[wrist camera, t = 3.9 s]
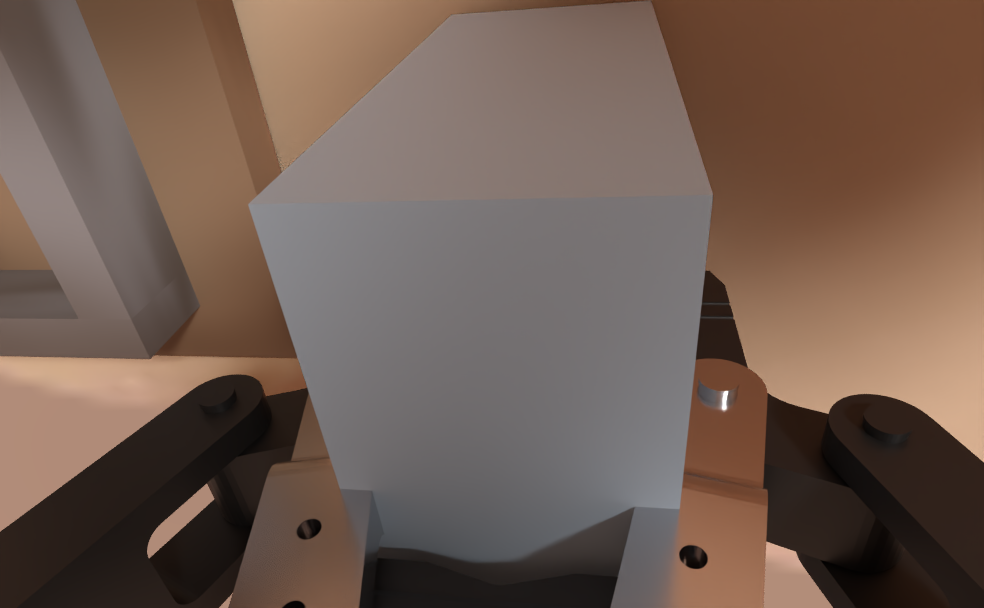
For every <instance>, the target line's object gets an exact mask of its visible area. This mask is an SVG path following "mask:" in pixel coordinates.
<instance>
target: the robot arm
mask: <svg viewBox="0 0 984 608" xmlns="http://www.w3.org/2000/svg"><path fill="white" fill-rule="evenodd" d="M206 483H207V484H208V486H209V488H210V490H211V492H212V494H213V496H214V498H215V499H214V500H213V501H212V502H211V503H210V504H209V505H208V506H207V507H206V508H204V509H203V510H202V511H201V512H200V513H199V514H198V515H197V516H196V517H195V518H194V519H192V520H191V521H190V522H189V523H188V524H187V525H186V526H185V527H184V528H182V529H181V530H180V531H179V532H178V533H177V534H176V535H175V536H174V537H173V538H172V539H170V541H168V542H167V543H166V544H165V545H164V546H163V547H162V548H160V549H159V550H158V551H157V552H156V553H155V554H154V555H153V556H152V557H151V558H148V555H147V546H148V542H149V540H150V537H151V535H152V534H153V532H154V531H155V529H156V528H157V527H158V526H159V525H160V524H161V523H162V522H163V521H164V520H165V519H167V518H168V517H169V516H170V515H171V514H172V513H173V512H175V511H176V510H177V509H178V508H179V507H180V506H181V505H182V504H184V503H185V502H186V501H187V500H188V499H189V498H191V497H192V496H193V495H194V494H195V493H196V492H197V491H198V490H199V489H201V488H202V487H203V486H204V485H205V484H206ZM382 535H384V531H383V527H382V524H381V520H380V517H379V513H378V510H377V506H376V503H375V499H374V496H373V492H372V491H369V490H353V489H340V487H339V484H338V481H337V478H336V475H335V472H334V469H333V466H332V463H331V460H330V456H329V453H328V450H327V447H326V444H325V441H324V438H323V435H322V432H321V429H320V426H319V422H318V419H317V416H316V413H315V410H314V407H313V404H312V401H311V398H310V395H309V392H308V388H305V389H301V390H297V391H291V392H286V393H281V394H276V395H271V396H265V393H264V390H263V388H262V385H261V384H260V382H259V381H258V380H257V379H255V378H253V377H251V376H247V375H227V376H222V377H218V378H215V379H212V380H210V381H207V382H205V383H203V384H201V385H199V386H198V387H196V388H195V389H193V390H192V391H190V392H189V393H187V394H186V395H185V396H183V397H182V398H181V399H179V400H178V401H177V402H175V403H174V404H173V405H171V406H170V407H169V408H167V409H166V410H164V411H163V412H162V413H160V414H159V415H158V416H156V417H155V418H154V419H152V420H151V421H150V422H148V423H147V424H146V425H144V426H143V427H141V428H140V429H139V430H137V431H136V432H135V433H133V434H132V435H131V436H129V437H128V438H127V439H125V440H124V441H123V442H121V443H120V444H118V445H117V446H116V447H114V448H113V449H112V450H110V451H109V452H108V453H106V454H105V455H104V456H102V457H101V458H100V459H98V460H97V461H95V462H94V463H93V464H92V465H90V466H89V467H87V468H86V469H85V470H83V471H82V472H81V473H79V474H78V475H77V476H75V477H74V478H72V479H71V480H70V481H68V482H67V483H66V484H64V485H63V486H62V487H60V488H59V489H58V490H56V491H55V492H54V493H52V494H51V495H49V496H48V497H47V498H45V499H44V500H43V501H41V502H40V503H39V504H37V505H36V506H35V507H33V508H32V509H31V510H29V511H28V512H26V513H25V514H24V515H22V516H21V517H20V518H19V519H17V520H16V521H14V522H13V523H12V524H10V525H9V526H8V527H6V528H5V529H3V530H2V531H1V532H0V608H219V607H220V606H221V605H222V604H223V603H224V602H225V601H226V599H227V598H228V597H229V596H230V595H231V594H232V593H233V594H232V598H231V601H230V604H229V608H763V607H764V583H765V559H766V541H767V542H770V543H772V544H775V545H778V546H781V547H784V548H787V549H790V550H793V551H796V553H797V555H798V558H799V560H800V562H801V563H802V565H803V567H804V568H805V569H806V571H807V572H808V573H809V575H810V576H811V578H812V579H813V580H814V582H815V583H816V585H817V586H818V587H819V589H820V590H821V591H822V593H823V594H824V595H825V597H826V598H827V600H828V601H829V602H830V604H831V605H832V606H833V608H984V462H983V461H981V460H980V459H979V458H978V457H977V456H975V455H974V454H973V453H972V452H971V451H970V450H968V449H967V448H966V447H965V446H964V445H963V444H961V443H960V442H959V441H958V440H957V439H955V438H954V437H953V436H952V435H951V434H950V433H948V432H947V431H946V430H945V429H944V428H943V427H941V426H940V425H939V424H938V423H937V422H935V421H934V420H933V419H932V418H931V417H929V416H928V415H927V414H925V413H924V412H923V411H921V410H919V409H918V408H916V407H914V406H912V405H910V404H908V403H906V402H903V401H900V400H898V399H894V398H891V397H887V396H881V395H873V394H858V395H852V396H848V397H845V398H843V399H841V400H839V401H837V402H836V403H835V404H834V405H833V406H832V408H831V409H830V412H829V414H827V413H823V412H818V411H814V410H810V409H806V408H802V407H798V406H795V405H792V404H789V403H786V402H784V401H781V400H779V399H777V398H775V397H773V396H771V395H770V394H768V393H767V388H766V386H765V384H764V382H763V381H762V379H761V378H760V377H759V376H758V375H757V374H756V373H754V372H753V371H752V370H750V369H748V367H747V364H746V360H745V356H744V353H743V349H742V346H741V342H740V338H739V335H738V331H737V328H736V324H735V320H734V319H733V313H732V309H731V306H730V305H729V299H728V295H727V291H726V288H725V285H724V284H723V283H722V282H721V281H720V280H719V279H717V278H716V277H715V276H714V275H713V274H712V273H711V272H710V271H705V277H704V286H703V295H702V305H701V314H700V323H699V333H698V342H697V351H696V361H695V370H694V380H693V389H692V398H691V408H690V417H689V426H688V436H687V445H686V454H685V464H684V473H683V482H682V492H681V501H680V509H667V508H650V507H635V509H634V513H633V517H632V521H631V525H630V529H629V533H628V538H627V542H626V546H625V550H624V554H623V558H622V562H621V566H620V571H619V575H618V577H614V576H601V575H589V574H571V575H564V576H558V577H552V578H545V579H539V580H533V581H526V582H520V583H514V584H507V585H494V584H490V583H487V582H484V581H481V580H478V579H476V578H473V577H470V576H467V575H464V574H461V573H458V572H455V571H452V570H450V569H447V568H444V567H441V566H438V565H435V564H432V563H429V562H425V561H412V560H399V559H387V558H377V557H378V548H379V543H380V539H381V537H382Z"/></svg>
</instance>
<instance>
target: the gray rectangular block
mask: <svg viewBox="0 0 984 608" xmlns="http://www.w3.org/2000/svg"><path fill="white" fill-rule="evenodd" d="M712 202H713V193H712V190H711V186H710V183H709V180H708V177H707V174H706V171H705V168H704V164H703V161H702V158H701V155H700V152H699V149H698V146H697V143H696V139H695V136H694V133H693V130H692V127H691V124H690V121H689V117H688V114H687V111H686V108H685V105H684V102H683V99H682V95H681V92H680V89H679V86H678V83H677V80H676V77H675V74H674V70H673V67H672V64H671V61H670V58H669V55H668V52H667V48H666V45H665V42H664V39H663V36H662V33H661V30H660V27H659V23H658V20H657V17H656V14H655V11H654V8H653V5H652V1H651V0H648V1H634V2H620V3H606V4H592V5H578V6H564V7H550V8H536V9H522V10H508V11H494V12H480V13H466V14H452V15H451V16H450V17H448V18H447V19H446V20H445V21H444V22H443V23H442V24H441V25H440V26H439V27H438V28H437V29H436V30H434V31H433V32H432V33H431V34H430V35H429V36H428V37H427V38H426V39H425V40H424V41H423V42H422V43H421V44H419V45H418V46H417V47H416V48H415V49H414V50H413V51H412V52H411V53H410V54H409V55H408V56H407V57H406V58H404V59H403V60H402V61H401V62H400V63H399V64H398V65H397V66H396V67H395V68H394V69H393V70H392V71H390V72H389V73H388V74H387V75H386V76H385V77H384V78H383V79H382V80H381V81H380V82H379V83H378V84H377V85H375V86H374V87H373V88H372V89H371V90H370V91H369V92H368V93H367V94H366V95H365V96H364V97H363V98H362V99H360V100H359V101H358V102H357V103H356V104H355V105H354V106H353V107H352V108H351V109H350V110H349V111H348V112H346V113H345V114H344V115H343V116H342V117H341V118H340V119H339V120H338V121H337V122H336V123H335V124H334V125H333V126H331V127H330V128H329V129H328V130H327V131H326V132H325V133H324V134H323V135H322V136H321V137H320V138H319V139H317V140H316V141H315V142H314V143H313V144H312V145H311V146H310V147H309V148H308V149H307V150H306V151H305V152H304V153H302V154H301V155H300V156H299V157H298V158H297V159H296V160H295V161H294V162H293V163H292V164H291V165H290V166H289V167H287V168H286V169H285V170H284V171H283V172H282V173H281V174H280V175H279V176H278V177H277V178H276V179H275V180H273V181H272V182H271V183H270V184H269V185H268V186H267V187H266V188H265V189H264V190H263V191H262V192H261V193H260V194H258V195H257V196H256V197H255V198H254V199H253V200H252V201H251V202H250V203H249V204H248V206H249V209H250V212H251V215H252V218H253V221H254V225H255V228H256V231H257V234H258V237H259V240H260V243H261V246H262V249H263V252H264V255H265V259H266V262H267V265H268V268H269V271H270V274H271V277H272V280H273V283H274V286H275V289H276V293H277V296H278V299H279V302H280V305H281V308H282V311H283V314H284V317H285V320H286V324H287V327H288V330H289V333H290V336H291V339H292V342H293V345H294V348H295V351H296V354H297V358H298V361H299V364H300V367H301V370H302V373H303V376H304V379H305V382H306V385H307V388H308V392H309V395H310V398H311V401H312V404H313V407H314V410H315V413H316V416H317V419H318V422H319V426H320V429H321V432H322V435H323V438H324V441H325V444H326V447H327V450H328V453H329V456H330V460H331V463H332V466H333V469H334V472H335V475H336V478H337V481H338V484H339V487H340V489H353V490H369V491H372V492H373V496H374V499H375V503H376V506H377V510H378V513H379V517H380V520H381V524H382V527H383V531H384V535H382V537H381V539H380V543H379V548H378V557H377V558H387V559H399V560H412V561H425V562H429V563H432V564H435V565H438V566H441V567H444V568H447V569H450V570H452V571H455V572H458V573H461V574H464V575H467V576H470V577H473V578H476V579H478V580H481V581H484V582H487V583H490V584H494V585H507V584H514V583H520V582H526V581H533V580H539V579H545V578H552V577H558V576H564V575H571V574H589V575H601V576H614V577H618V575H619V571H620V566H621V562H622V558H623V554H624V550H625V546H626V542H627V538H628V533H629V529H630V525H631V521H632V517H633V513H634V509H635V507H650V508H667V509H680V501H681V492H682V482H683V473H684V464H685V454H686V445H687V436H688V426H689V417H690V408H691V398H692V389H693V380H694V370H695V361H696V351H697V342H698V333H699V323H700V314H701V305H702V295H703V286H704V277H705V267H706V258H707V249H708V239H709V230H710V221H711V211H712Z"/></svg>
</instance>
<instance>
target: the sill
mask: <svg viewBox="0 0 984 608" xmlns="http://www.w3.org/2000/svg"><path fill="white" fill-rule="evenodd" d="M280 174H281V170H280V166H279V163H278V159H277V156H276V152H275V149H274V145H273V142H272V138H271V135H270V131H269V128H268V124H267V121H266V117H265V114H264V110H263V107H262V103H261V100H260V97H259V93H258V90H257V86H256V83H255V79H254V76H253V72H252V69H251V65H250V62H249V58H248V55H247V51H246V48H245V44H244V41H243V37H242V34H241V30H240V27H239V23H238V20H237V16H236V13H235V9H234V6H233V2H232V0H0V356H28V357H76V358H125V359H151V358H152V357H153V356H154V355H167V356H219V357H270V358H297V354H296V351H295V348H294V345H293V342H292V339H291V336H290V333H289V330H288V327H287V324H286V320H285V317H284V314H283V311H282V308H281V305H280V302H279V299H278V296H277V293H276V289H275V286H274V283H273V280H272V277H271V274H270V271H269V268H268V265H267V262H266V259H265V255H264V252H263V249H262V246H261V243H260V240H259V237H258V234H257V231H256V228H255V225H254V221H253V218H252V215H251V212H250V209H249V206H248V204H249V203H250V202H251V201H252V200H253V199H254V198H255V197H256V196H257V195H258V194H260V193H261V192H262V191H263V190H264V189H265V188H266V187H267V186H268V185H269V184H270V183H271V182H272V181H273V180H275V179H276V178H277V177H278V176H279V175H280Z"/></svg>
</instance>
